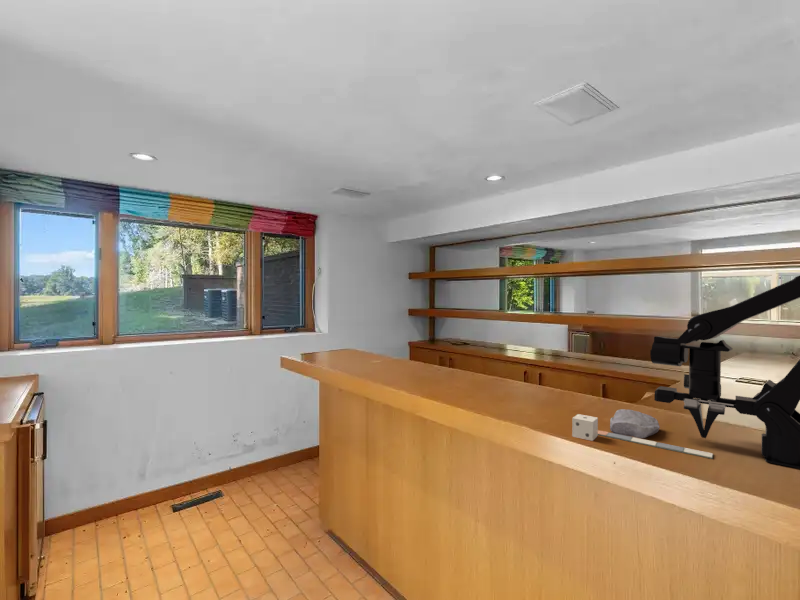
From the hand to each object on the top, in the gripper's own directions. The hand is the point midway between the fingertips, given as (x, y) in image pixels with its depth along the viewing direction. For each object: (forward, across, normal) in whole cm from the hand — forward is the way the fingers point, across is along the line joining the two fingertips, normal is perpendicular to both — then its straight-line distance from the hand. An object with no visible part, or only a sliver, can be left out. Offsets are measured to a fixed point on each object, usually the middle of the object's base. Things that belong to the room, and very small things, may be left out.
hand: (703, 437), depth 91 cm
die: (+2, +22, +13) cm, 26 cm away
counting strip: (+1, +10, +8) cm, 14 cm away
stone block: (+2, +14, 0) cm, 14 cm away
